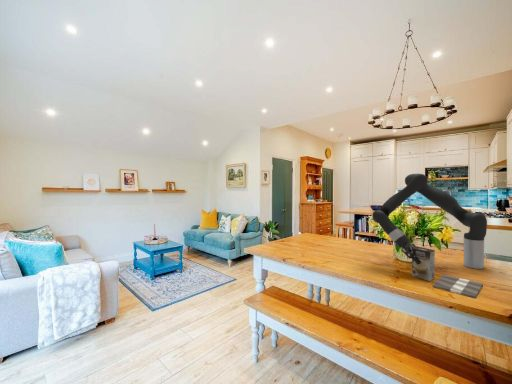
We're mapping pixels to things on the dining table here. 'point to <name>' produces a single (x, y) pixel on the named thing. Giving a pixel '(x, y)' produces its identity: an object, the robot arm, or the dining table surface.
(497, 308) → the dining table surface
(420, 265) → the coffee box
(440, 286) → the grey white flat rectangle
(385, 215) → the robot arm
